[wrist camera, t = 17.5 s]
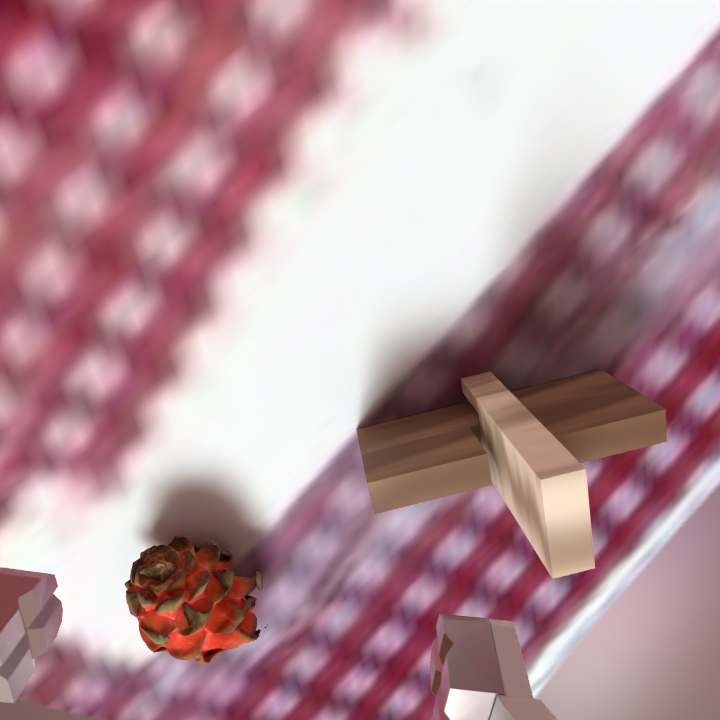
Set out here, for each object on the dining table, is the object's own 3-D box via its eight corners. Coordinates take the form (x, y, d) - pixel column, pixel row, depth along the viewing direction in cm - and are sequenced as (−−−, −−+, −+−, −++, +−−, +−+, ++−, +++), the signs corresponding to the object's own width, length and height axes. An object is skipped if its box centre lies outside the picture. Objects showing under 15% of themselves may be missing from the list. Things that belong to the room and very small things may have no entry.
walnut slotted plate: (356, 429, 42) (367, 483, 34) (601, 369, 42) (665, 409, 35) (363, 455, 43) (375, 514, 35) (603, 396, 43) (666, 441, 35)
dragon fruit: (152, 503, 44) (259, 569, 49) (81, 603, 40) (205, 662, 46) (184, 522, 37) (305, 596, 42) (103, 644, 34) (245, 708, 39)
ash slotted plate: (460, 378, 41) (540, 479, 27) (490, 371, 41) (585, 468, 27) (472, 449, 43) (552, 578, 29) (500, 442, 43) (594, 568, 29)
